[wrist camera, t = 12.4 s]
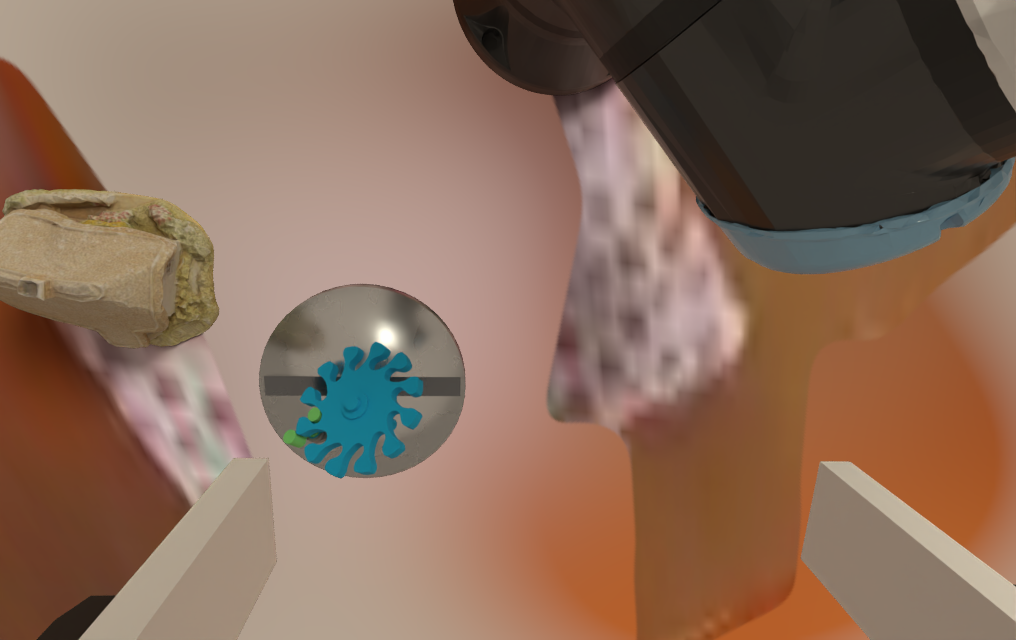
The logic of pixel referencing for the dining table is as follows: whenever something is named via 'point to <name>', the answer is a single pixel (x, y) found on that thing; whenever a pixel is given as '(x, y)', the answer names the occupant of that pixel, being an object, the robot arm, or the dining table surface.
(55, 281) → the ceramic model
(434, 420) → the hub plate
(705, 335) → the dining table surface
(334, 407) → the gear
